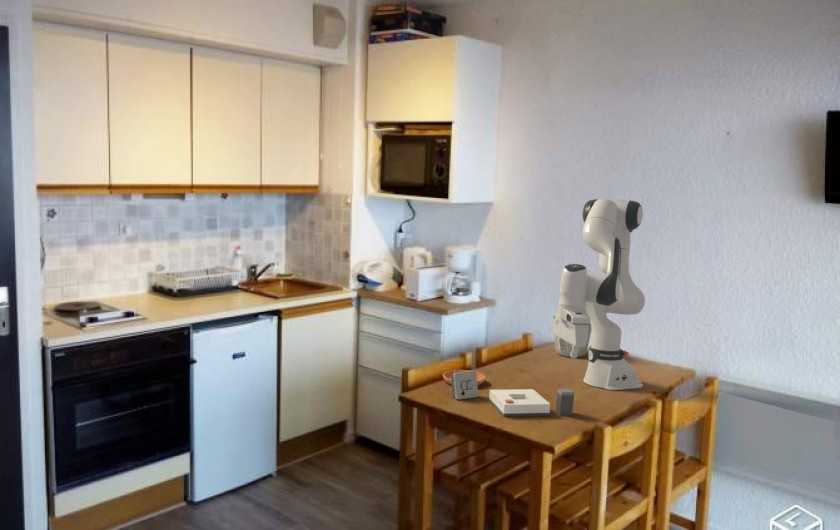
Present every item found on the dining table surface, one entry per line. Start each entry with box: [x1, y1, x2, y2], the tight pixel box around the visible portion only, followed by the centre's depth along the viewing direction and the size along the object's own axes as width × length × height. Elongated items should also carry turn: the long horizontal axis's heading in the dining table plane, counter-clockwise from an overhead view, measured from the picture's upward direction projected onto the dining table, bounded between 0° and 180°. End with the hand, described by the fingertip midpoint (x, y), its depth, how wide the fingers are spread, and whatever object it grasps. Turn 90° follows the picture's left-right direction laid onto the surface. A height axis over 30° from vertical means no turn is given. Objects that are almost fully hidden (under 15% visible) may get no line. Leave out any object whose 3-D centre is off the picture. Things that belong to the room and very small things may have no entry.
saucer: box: [442, 369, 486, 387], centre depth 275 cm, size 16×16×3 cm
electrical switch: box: [451, 370, 479, 400], centre depth 257 cm, size 9×5×9 cm, turn 121°
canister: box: [552, 314, 591, 358], centre depth 325 cm, size 18×18×21 cm
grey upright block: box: [555, 388, 575, 416], centre depth 245 cm, size 4×4×8 cm
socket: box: [488, 388, 551, 418], centre depth 248 cm, size 16×16×5 cm
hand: (567, 354), depth 243 cm, fingers open, 8 cm apart
